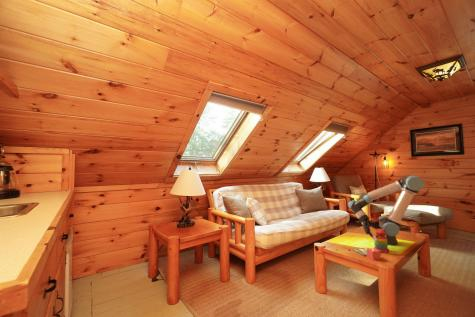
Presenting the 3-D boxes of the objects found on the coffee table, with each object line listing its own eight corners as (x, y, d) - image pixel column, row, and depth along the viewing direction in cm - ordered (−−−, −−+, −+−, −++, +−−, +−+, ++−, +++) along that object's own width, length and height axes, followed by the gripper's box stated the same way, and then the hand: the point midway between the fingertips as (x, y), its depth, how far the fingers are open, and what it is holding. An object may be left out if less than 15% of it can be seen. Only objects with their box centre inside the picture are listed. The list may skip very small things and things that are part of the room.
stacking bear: (390, 250, 181) (389, 228, 181) (388, 254, 173) (387, 231, 174) (375, 247, 188) (374, 226, 188) (372, 251, 180) (371, 229, 181)
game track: (368, 248, 186) (368, 247, 186) (380, 254, 173) (380, 253, 173) (352, 249, 183) (352, 249, 183) (363, 256, 170) (363, 255, 170)
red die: (373, 256, 170) (373, 248, 170) (380, 259, 164) (379, 250, 165) (366, 256, 169) (366, 248, 169) (373, 259, 163) (372, 251, 164)
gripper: (367, 217, 202) (385, 238, 189) (350, 220, 190) (368, 243, 176) (373, 212, 198) (392, 234, 184) (356, 215, 185) (375, 239, 172)
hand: (380, 239), depth 180 cm, fingers open, 13 cm apart
